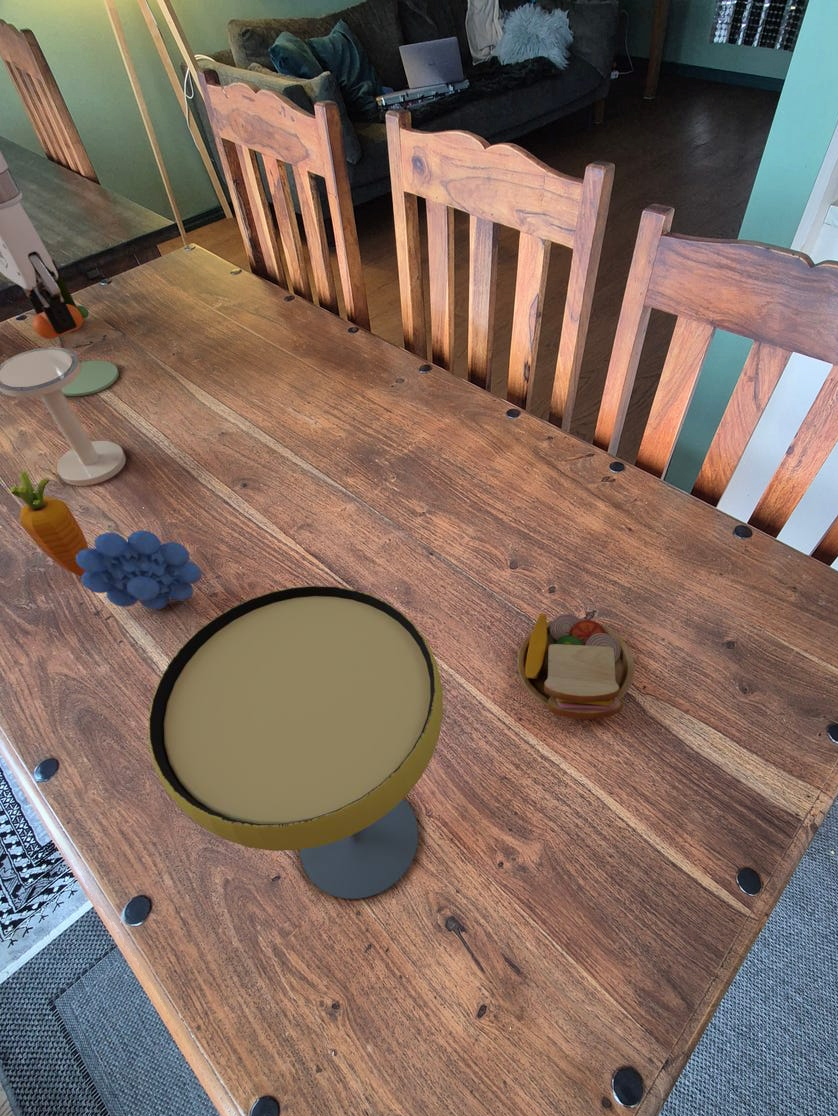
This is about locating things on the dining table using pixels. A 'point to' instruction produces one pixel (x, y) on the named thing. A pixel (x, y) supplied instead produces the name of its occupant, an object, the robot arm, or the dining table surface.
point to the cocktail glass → (303, 731)
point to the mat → (92, 378)
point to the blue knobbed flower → (138, 570)
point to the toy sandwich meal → (576, 667)
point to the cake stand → (61, 411)
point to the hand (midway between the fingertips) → (59, 324)
